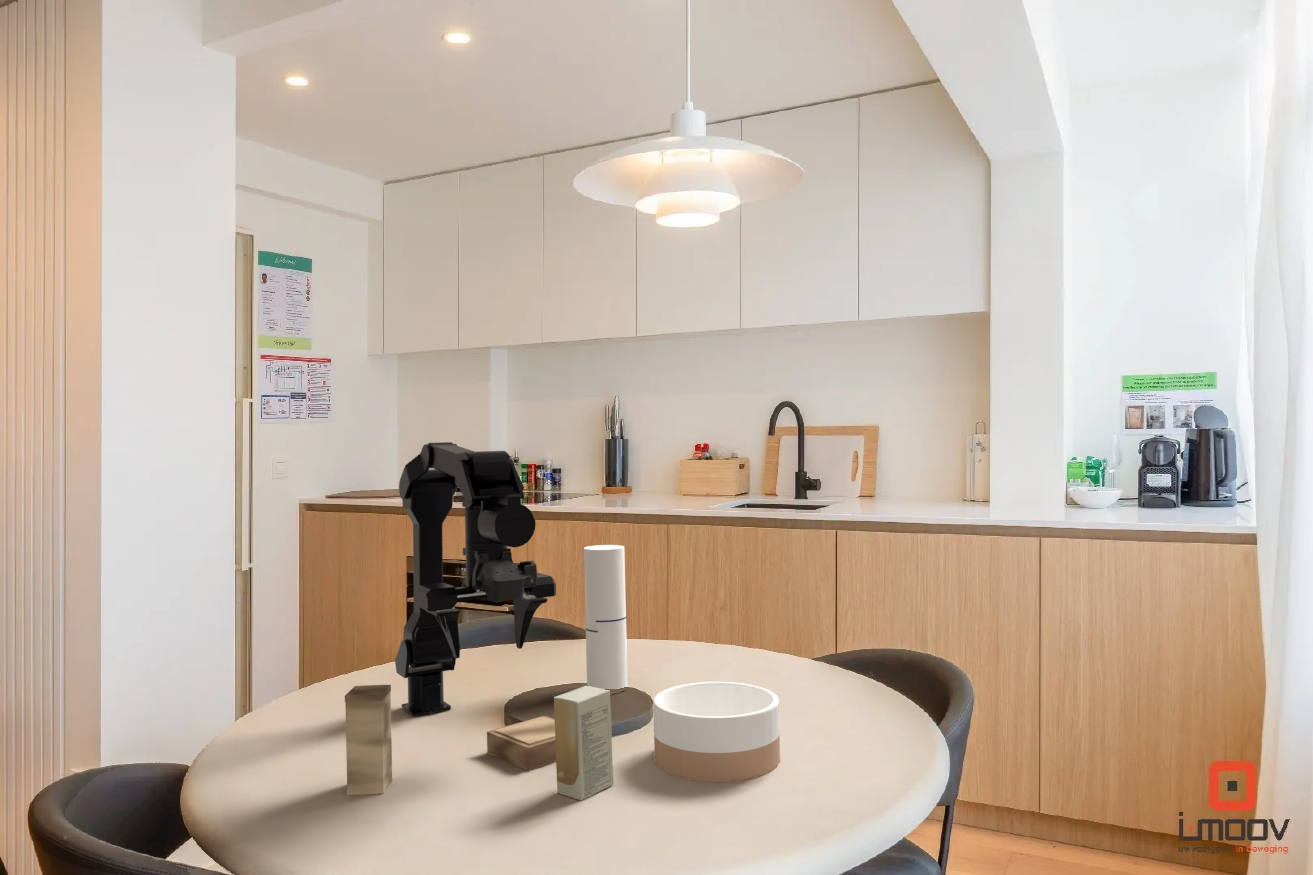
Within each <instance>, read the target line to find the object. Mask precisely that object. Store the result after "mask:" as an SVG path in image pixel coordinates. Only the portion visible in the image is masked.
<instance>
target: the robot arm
mask: <svg viewBox="0 0 1313 875" xmlns="http://www.w3.org/2000/svg"><path fill="white" fill-rule="evenodd" d="M458 488H459V490H460V492H461V494H462V496H463V498H464V499H463V501H462V503H461V506H462V507H463V508H464V528H465V530H464V532H465V536H464V537H465V547H462V555H463V556H465V576H463V585H464V586H460V587H458V586H457V587H455V586H453V585H452V584H448V583H445V582H444V580H443V579H444V570H443V569H444V568H443V564H444V561H443V559H444V557H443V556H444V555H443V554H444V553H443V547H444V546H443V540H444V539H443V526H444V524H443V523H444V522H445V520H446V519H447V517H448V515H449V513H450V512H451V510H452V508H453V505H454V504H453V501H454V495H455V494H456V491H457V489H458ZM524 489H525V486H524V484H523V482H522V479H521V477H520V475H519V473H518V471H517V468H516V466H515V463H514V461H513V459H512V458H510V454H509V453H508V452H507V451H506V450H489V451H488V450H487V451H486V450H485V451H484V450H483V451H482V450H481V451H480V450H479V451H474V450H471V449H469V448H465V447H463V446H459V445H458V444H457V443H453V442H452V441H449V442H448V441H447V442H428V443H425V444H423V445H422V447H421V451H420V453H419V454H418V455H416V456H415V457H414V458H413V459H411V460H410V461H409V462H408V463H406V464H405V465H404V468H403V470H402V473H401V476H400V479H399V483H398V493H399V496H400V499H402V500H401V501H402V508H403V510H404V511H405V513H406V514H407V516H408V517H409V519H410V521H411V522H412V530H413V531H412V535H413V536H412V537H413V538H412V539H413V540H412V541H413V542H412V545H413V546H412V548H413V549H412V550H413V553H412V554H413V570H412V571H413V612H412V613H411V615H410V617H409V619H408V620H407V622H406V623H405V624H404V627H403V636H402V637H403V640H401V642H400V644H399V647H398V651H397V653H396V657H395V660H394V663H395V671H396V674H398V675H399V676H401V677H402V678H403V679H407V700H408V701H407V702H408V703H407V702H405V703H402V704H401V709H403V711H406V712H407V713H408V714H409V715H411V716H413V717H416V716H422V715H426V714H433V713H438V712H444V711H448V710H451V709H452V706H451V704H449V703H447V702H446V701H445V699H444V698H445V697H444V672H448V671H451V672H452V671H454V670H455V666H456V661H457V659H460V658H461V657H460V656H461V645H460V644H461V642H460V635H459V634H460V633H459V623H458V620H459V616H460V610H459V609H457V608H455V606H456V605H457V603H458V602H462V601H470V600H477V599H479V600H480V599H488V600H489V601H491V602H493V603H503V601H509V600H513V617H514V618H513V619H514V639H515V644H516V648H517V649H520V650H521V649H523V646H524V643H525V640H526V638H527V634H528V631H529V627H530V625H531V623H532V621H533V620H532V619H533V617H534V616H535V613H536V611H537V610H538V608H540V606H541V605H542V604H546V603H547V602H548V601H549V599H548V598H551V597H555V596H557V583H556V581H555V579H554V577H553V576H551V575H548V574H545V573H541V572H538V569H537V566H538V565H537V564H536V562H534V560H524V561H520V562H519V563H514V561H513V558H512V552H511V550H512V549H511V548H519V547H523V546H524V545H526V544H527V543H529V541H530V540H531V539H532V537H533V536H534V533H535V531H536V525H537V524H536V519H535V517H534V514H533V513H532V511H531V510H530V508H528V507H527V506H526V505H524V504H522V500H523V499H524V498H525V494H524ZM509 547H510V548H509ZM475 591H476V592H475Z"/></svg>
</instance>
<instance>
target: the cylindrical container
mask: <svg viewBox="0 0 1313 875" xmlns="http://www.w3.org/2000/svg"><path fill="white" fill-rule="evenodd" d="M583 556H584V557H583V559H584V560H583V562H584V567H583V568H584V603H585V606H584V608H585V609H584V610H585V615H584V616H585V647H586V649H585V652H586V653H585V656H586V686H587V685H588V686H592V687H596V688H601V689H620V688H624V687H628V688H629V686H628V654H627V653H628V650H627V649H628V648H627V647H628V646H627V641H628V640H627V617H626V616H627V607H626V605H627V603H626V602H627V600H626V565H625V564H626V563H625V562H626V558H625V557H626V556H625V546H624V545H619V544H618V545H617V544H599V545H588V546H585V547H584V548H583Z"/></svg>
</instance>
